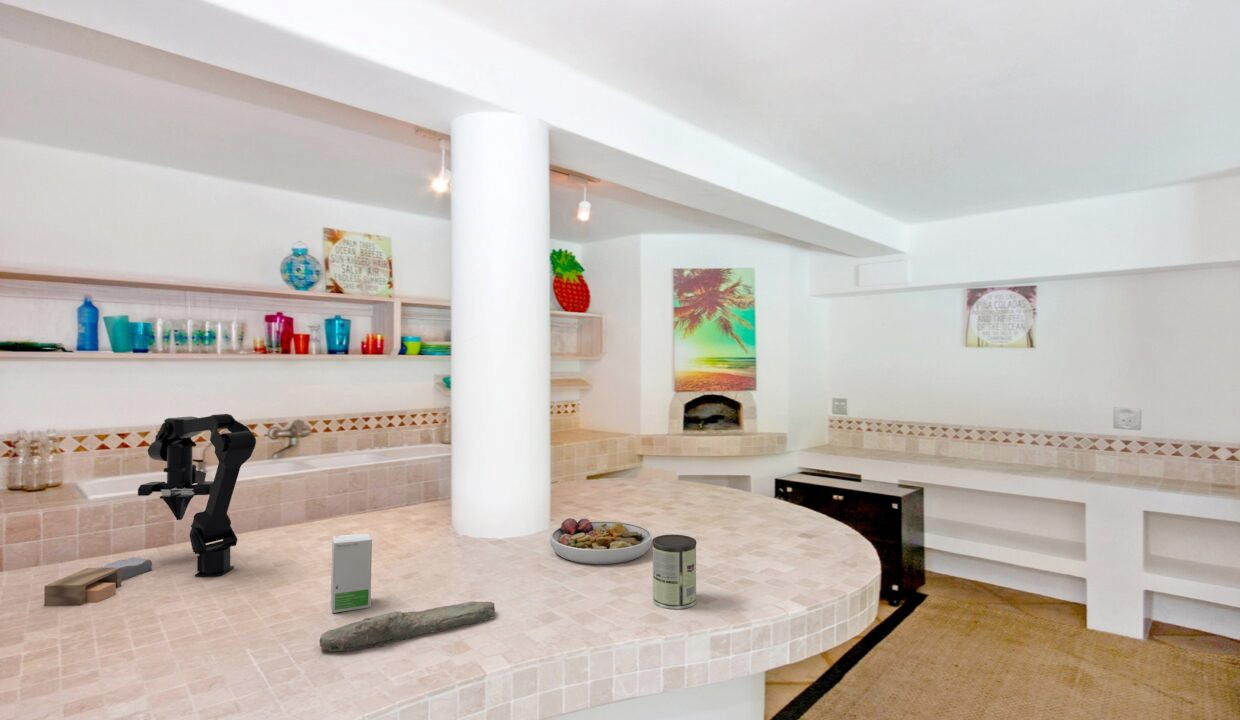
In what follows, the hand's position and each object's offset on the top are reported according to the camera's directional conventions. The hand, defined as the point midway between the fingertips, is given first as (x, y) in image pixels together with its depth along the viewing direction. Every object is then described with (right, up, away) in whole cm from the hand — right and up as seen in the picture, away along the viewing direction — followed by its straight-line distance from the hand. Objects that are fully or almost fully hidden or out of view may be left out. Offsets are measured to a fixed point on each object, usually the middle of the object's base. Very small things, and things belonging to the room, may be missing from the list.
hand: (179, 519), depth 169 cm
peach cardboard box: (-4, -12, -24) cm, 28 cm away
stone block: (-9, -12, -10) cm, 18 cm away
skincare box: (+60, -12, -29) cm, 67 cm away
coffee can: (+134, -12, -25) cm, 137 cm away
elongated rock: (+78, -13, -42) cm, 90 cm away
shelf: (-6, -12, -23) cm, 27 cm away
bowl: (+115, -13, +13) cm, 117 cm away
